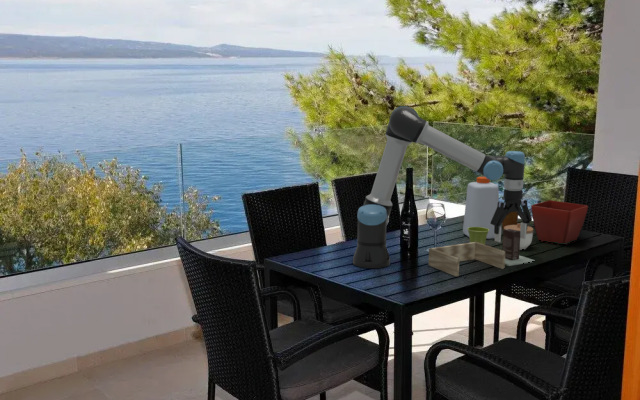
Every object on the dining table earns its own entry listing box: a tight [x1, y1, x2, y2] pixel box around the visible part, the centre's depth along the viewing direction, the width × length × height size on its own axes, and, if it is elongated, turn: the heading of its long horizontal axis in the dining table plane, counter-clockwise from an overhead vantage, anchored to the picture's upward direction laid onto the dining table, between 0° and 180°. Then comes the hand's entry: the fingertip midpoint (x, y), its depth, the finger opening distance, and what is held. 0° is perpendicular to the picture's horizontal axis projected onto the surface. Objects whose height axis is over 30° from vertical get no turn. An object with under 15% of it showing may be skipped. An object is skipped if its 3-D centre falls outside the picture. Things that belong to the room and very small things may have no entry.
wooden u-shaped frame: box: [428, 242, 506, 277], centre depth 295 cm, size 24×18×7 cm
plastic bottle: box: [462, 176, 500, 240], centre depth 347 cm, size 15×15×28 cm
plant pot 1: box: [468, 227, 489, 245], centre depth 325 cm, size 9×9×9 cm
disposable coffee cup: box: [501, 212, 519, 231], centre depth 361 cm, size 10×10×12 cm
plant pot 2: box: [531, 199, 589, 243], centre depth 337 cm, size 19×19×17 cm
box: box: [501, 229, 521, 260], centre depth 305 cm, size 6×4×12 cm
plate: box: [505, 254, 536, 267], centre depth 306 cm, size 14×14×1 cm
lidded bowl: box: [504, 222, 534, 251], centre depth 325 cm, size 13×13×11 cm
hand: (510, 239), depth 305 cm, fingers open, 13 cm apart
